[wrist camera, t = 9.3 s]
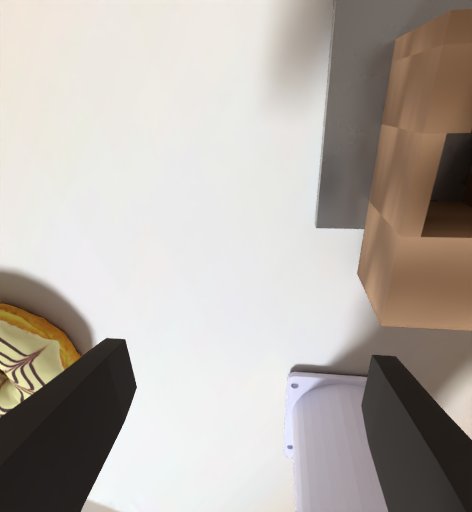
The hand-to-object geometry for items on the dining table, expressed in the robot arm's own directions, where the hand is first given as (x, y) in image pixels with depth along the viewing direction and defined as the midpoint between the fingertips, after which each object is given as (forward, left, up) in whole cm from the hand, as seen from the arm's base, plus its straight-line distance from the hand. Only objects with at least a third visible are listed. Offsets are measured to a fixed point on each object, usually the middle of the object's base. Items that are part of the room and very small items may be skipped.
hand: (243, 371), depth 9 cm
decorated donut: (-10, +19, -10) cm, 24 cm away
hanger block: (+4, -8, -9) cm, 13 cm away
